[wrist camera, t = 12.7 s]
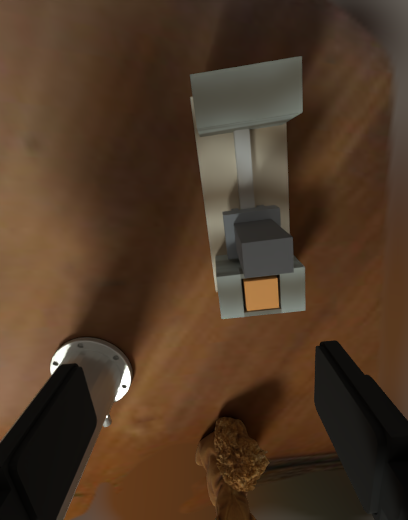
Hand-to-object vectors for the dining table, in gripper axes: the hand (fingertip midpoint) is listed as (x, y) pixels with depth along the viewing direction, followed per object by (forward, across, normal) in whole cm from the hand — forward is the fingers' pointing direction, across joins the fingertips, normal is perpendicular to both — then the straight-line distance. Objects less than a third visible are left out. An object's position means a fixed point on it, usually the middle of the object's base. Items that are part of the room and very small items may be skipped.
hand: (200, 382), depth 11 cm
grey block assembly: (+25, -6, -5) cm, 26 cm away
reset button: (+19, -6, +5) cm, 20 cm away
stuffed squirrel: (+27, -1, +36) cm, 45 cm away
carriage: (+24, -6, -1) cm, 24 cm away
